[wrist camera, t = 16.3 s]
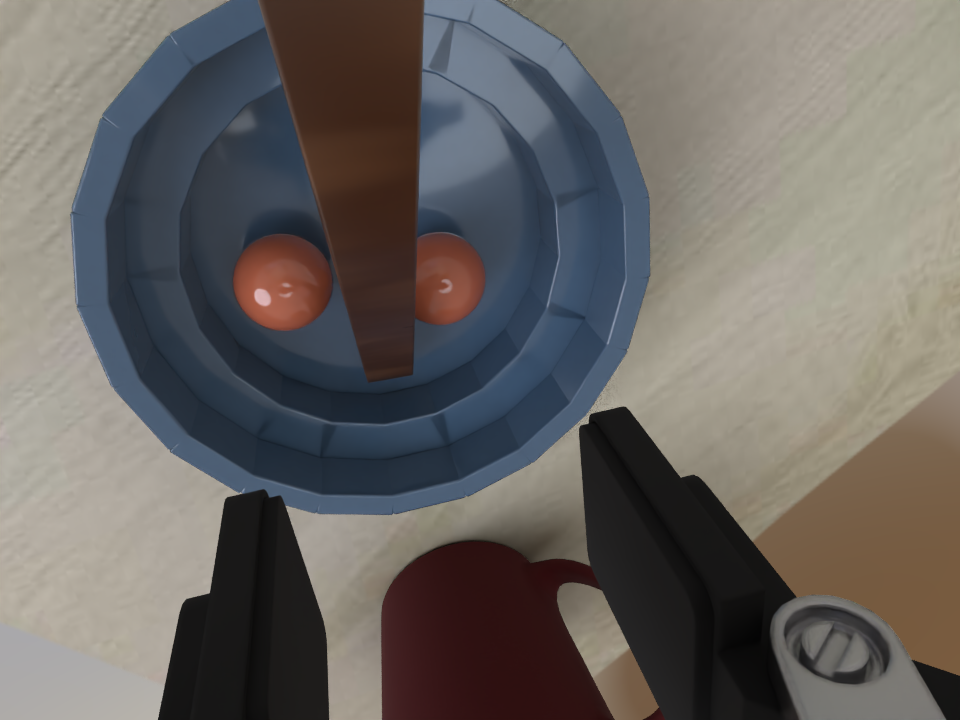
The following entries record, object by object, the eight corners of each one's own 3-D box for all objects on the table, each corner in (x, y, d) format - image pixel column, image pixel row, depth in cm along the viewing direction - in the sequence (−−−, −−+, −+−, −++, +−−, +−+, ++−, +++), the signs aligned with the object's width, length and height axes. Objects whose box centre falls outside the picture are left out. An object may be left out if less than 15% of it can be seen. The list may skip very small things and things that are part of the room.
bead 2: (412, 308, 25) (379, 332, 22) (410, 222, 24) (375, 236, 21) (495, 315, 24) (471, 341, 22) (496, 227, 23) (472, 241, 21)
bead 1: (222, 329, 23) (198, 254, 20) (283, 275, 24) (268, 201, 22) (299, 365, 22) (283, 291, 19) (356, 306, 23) (348, 232, 21)
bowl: (207, 472, 27) (188, 565, 23) (30, 16, 19) (-49, 25, 15) (600, 383, 29) (652, 453, 25) (578, -61, 21) (647, -73, 17)
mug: (539, 446, 30) (649, 664, 20) (642, 557, 34) (774, 780, 24) (322, 611, 31) (329, 886, 22) (446, 697, 36) (498, 958, 26)
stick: (367, 383, 25) (213, -146, 5) (360, 339, 25) (187, -316, 6) (413, 375, 25) (432, -164, 5) (405, 331, 25) (395, -326, 6)
